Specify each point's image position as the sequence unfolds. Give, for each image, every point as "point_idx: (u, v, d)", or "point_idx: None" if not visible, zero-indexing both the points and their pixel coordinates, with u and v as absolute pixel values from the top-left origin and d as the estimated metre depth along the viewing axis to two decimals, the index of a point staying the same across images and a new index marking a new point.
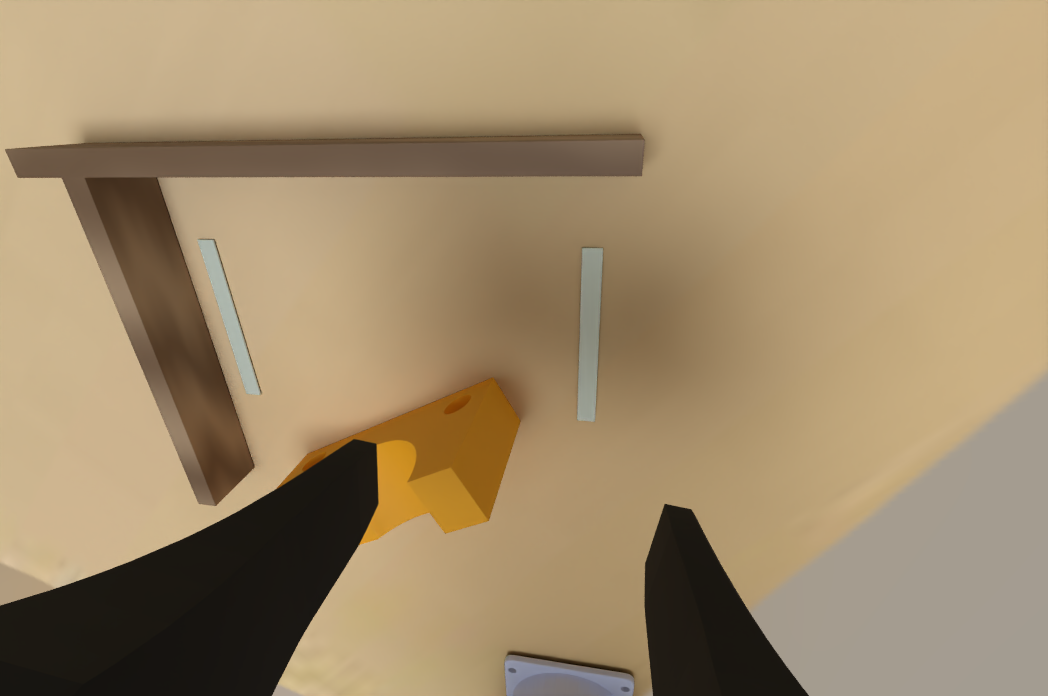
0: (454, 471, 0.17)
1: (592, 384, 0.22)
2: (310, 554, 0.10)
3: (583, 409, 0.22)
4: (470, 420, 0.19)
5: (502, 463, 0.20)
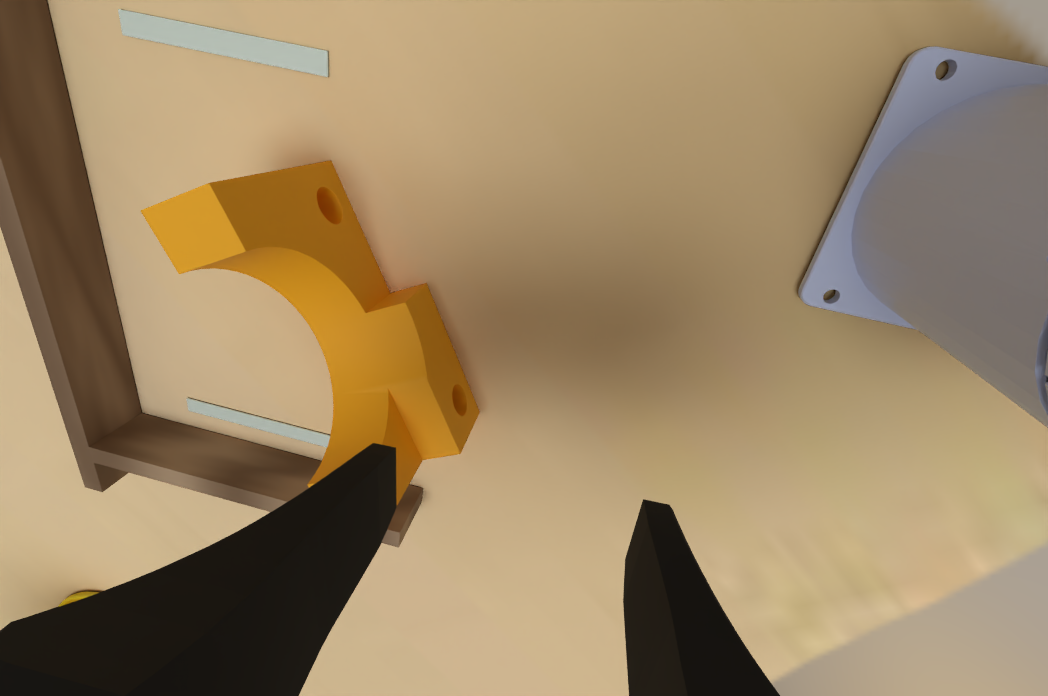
0: None
1: (278, 47, 0.17)
2: (333, 559, 0.10)
3: (313, 65, 0.17)
4: None
5: (269, 172, 0.16)
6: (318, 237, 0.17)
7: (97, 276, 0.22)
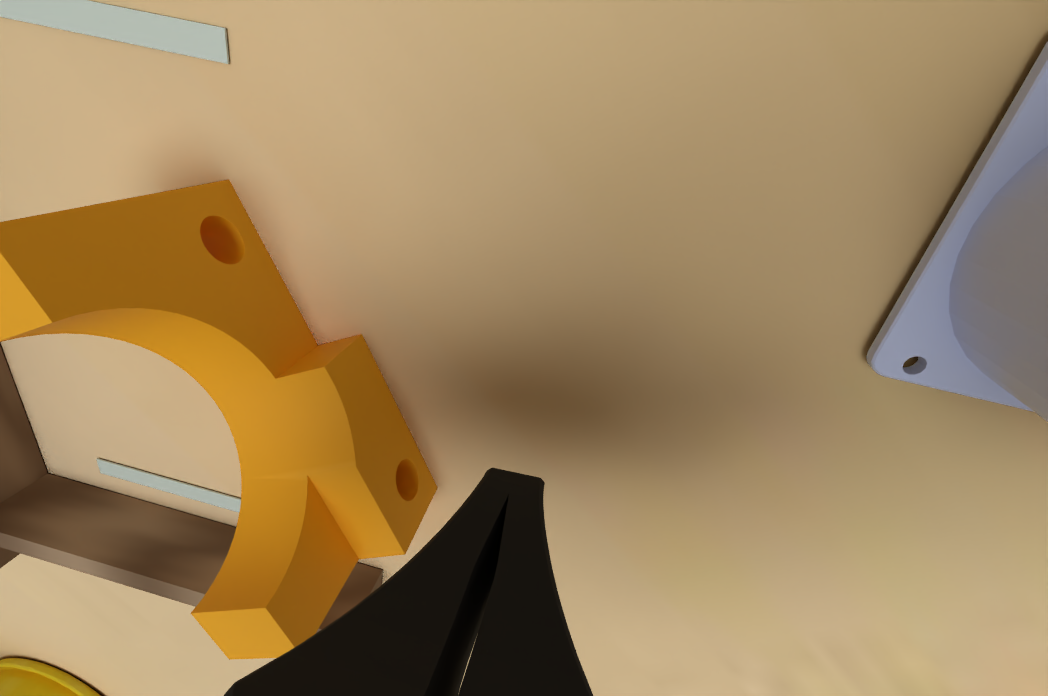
0: None
1: (159, 23, 0.13)
2: (478, 594, 0.10)
3: (208, 48, 0.13)
4: None
5: (118, 201, 0.11)
6: (199, 285, 0.13)
7: None
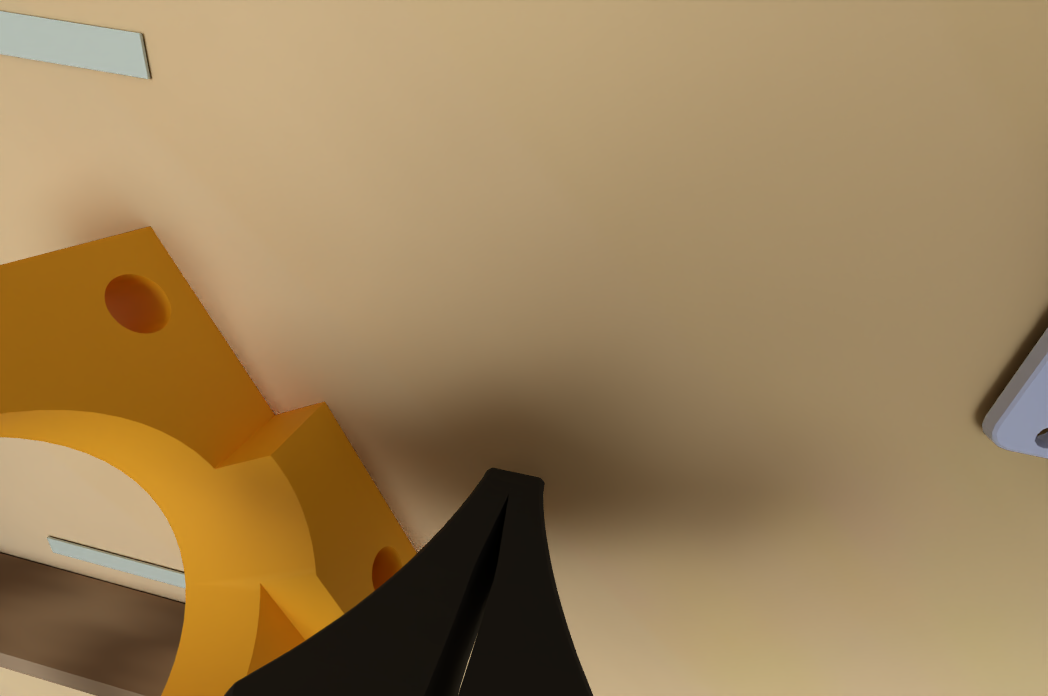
0: None
1: (59, 31, 0.10)
2: (477, 594, 0.10)
3: (122, 60, 0.10)
4: None
5: None
6: (102, 367, 0.10)
7: None
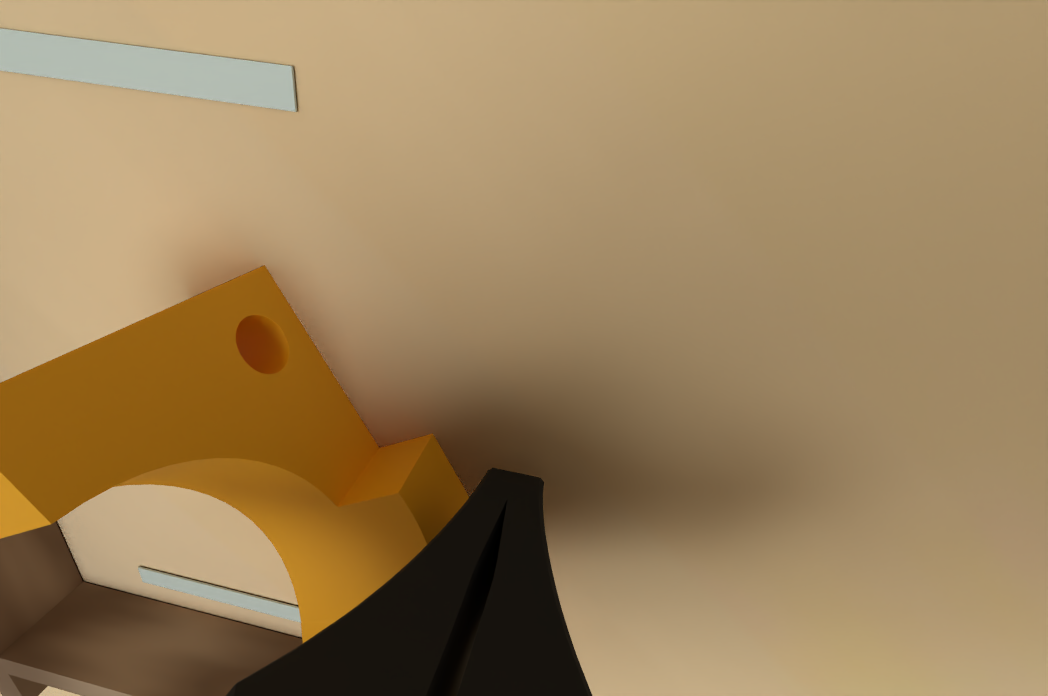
0: None
1: (206, 66, 0.10)
2: (478, 594, 0.10)
3: (269, 94, 0.10)
4: None
5: (132, 324, 0.09)
6: (239, 412, 0.10)
7: None
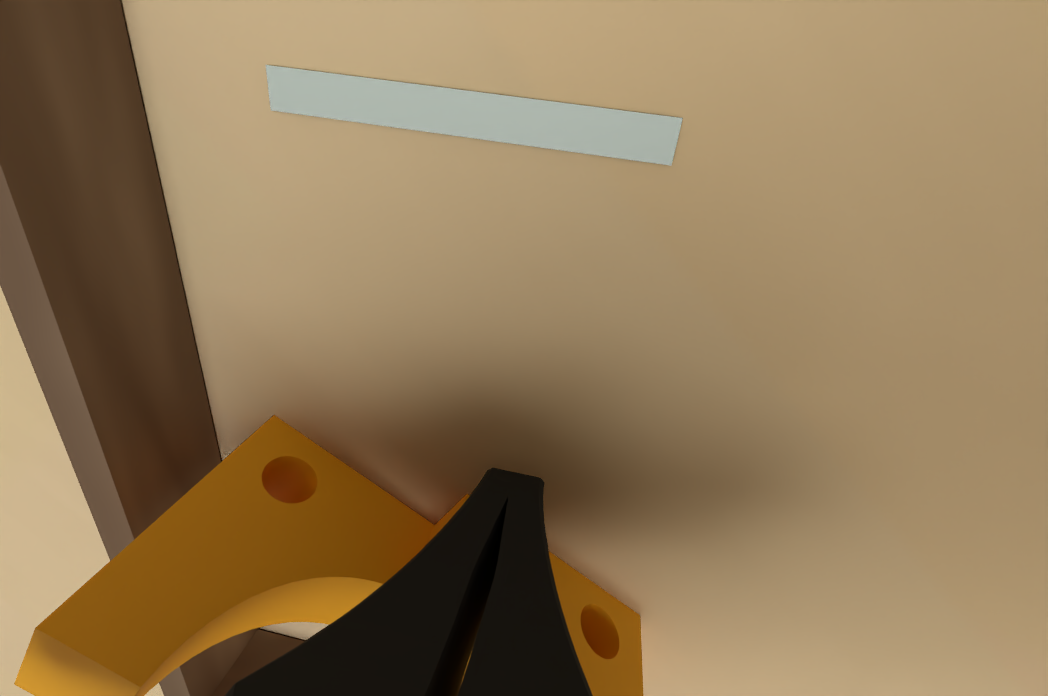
0: (16, 679, 0.09)
1: (575, 116, 0.09)
2: (478, 594, 0.10)
3: (643, 146, 0.09)
4: None
5: (172, 508, 0.11)
6: (283, 543, 0.11)
7: None
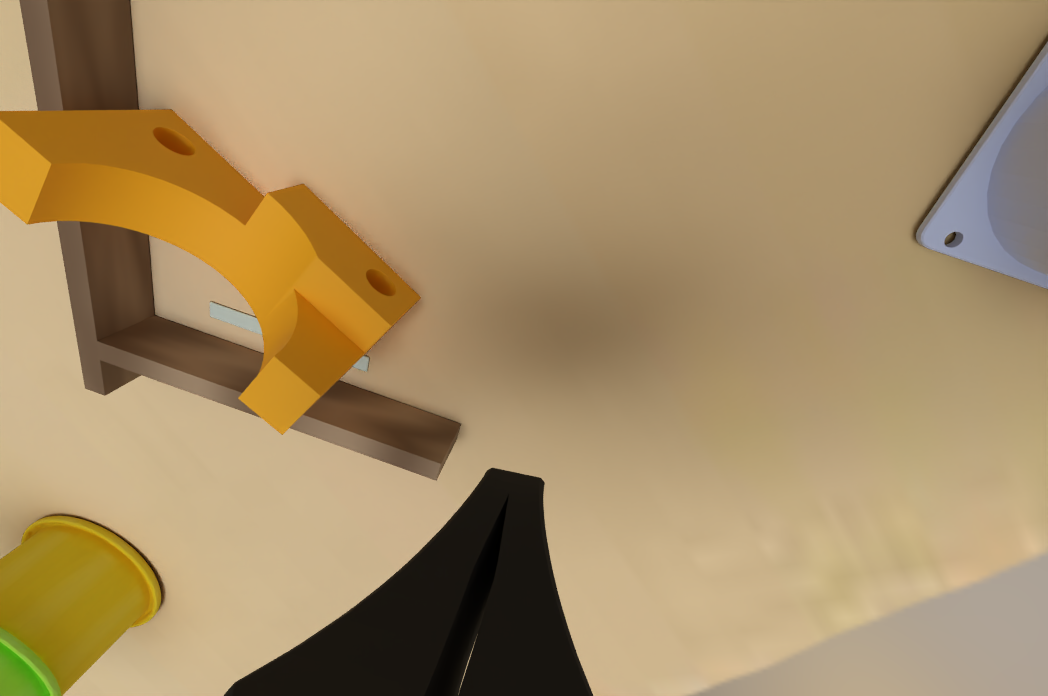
0: None
1: None
2: (477, 594, 0.10)
3: None
4: None
5: (86, 115, 0.17)
6: (160, 162, 0.17)
7: None
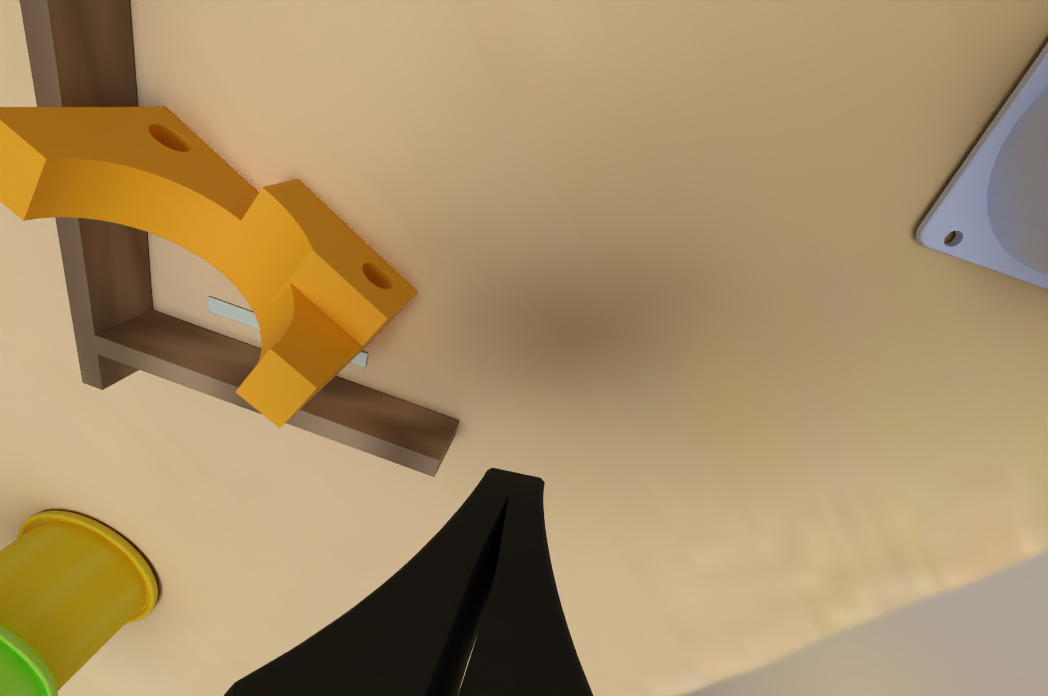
0: None
1: None
2: (477, 594, 0.10)
3: None
4: None
5: (81, 112, 0.17)
6: (156, 158, 0.17)
7: None
